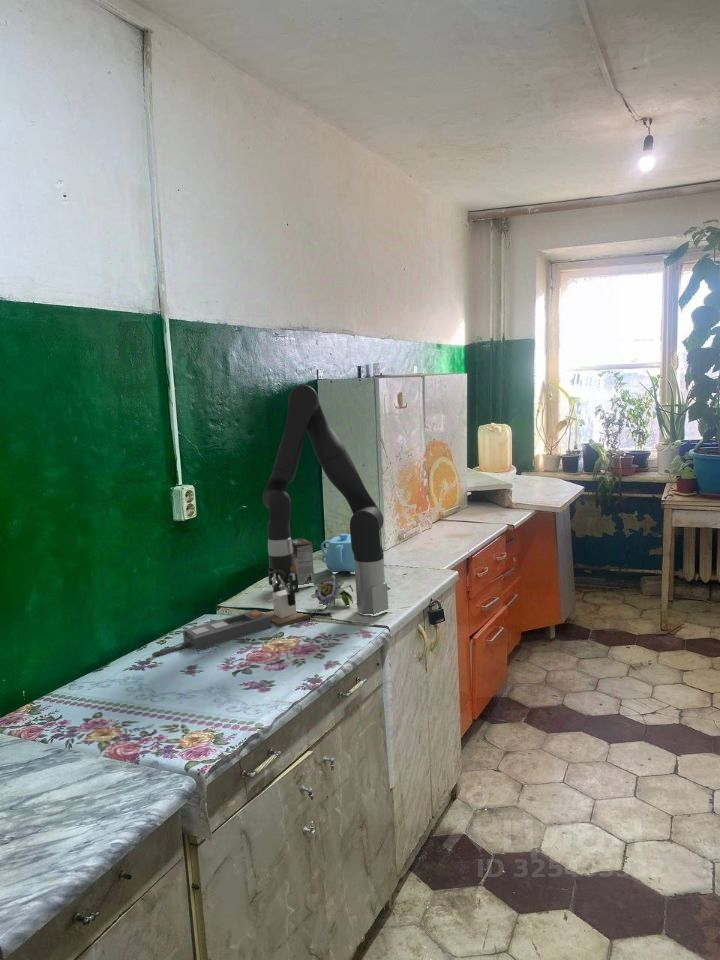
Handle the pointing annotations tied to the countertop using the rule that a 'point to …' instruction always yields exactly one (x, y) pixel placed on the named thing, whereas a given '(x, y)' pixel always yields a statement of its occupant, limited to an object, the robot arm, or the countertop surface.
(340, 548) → the teapot
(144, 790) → the countertop surface
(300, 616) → the walnut pad
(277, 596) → the block
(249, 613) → the power strip
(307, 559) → the coffee box
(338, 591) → the passion flower
